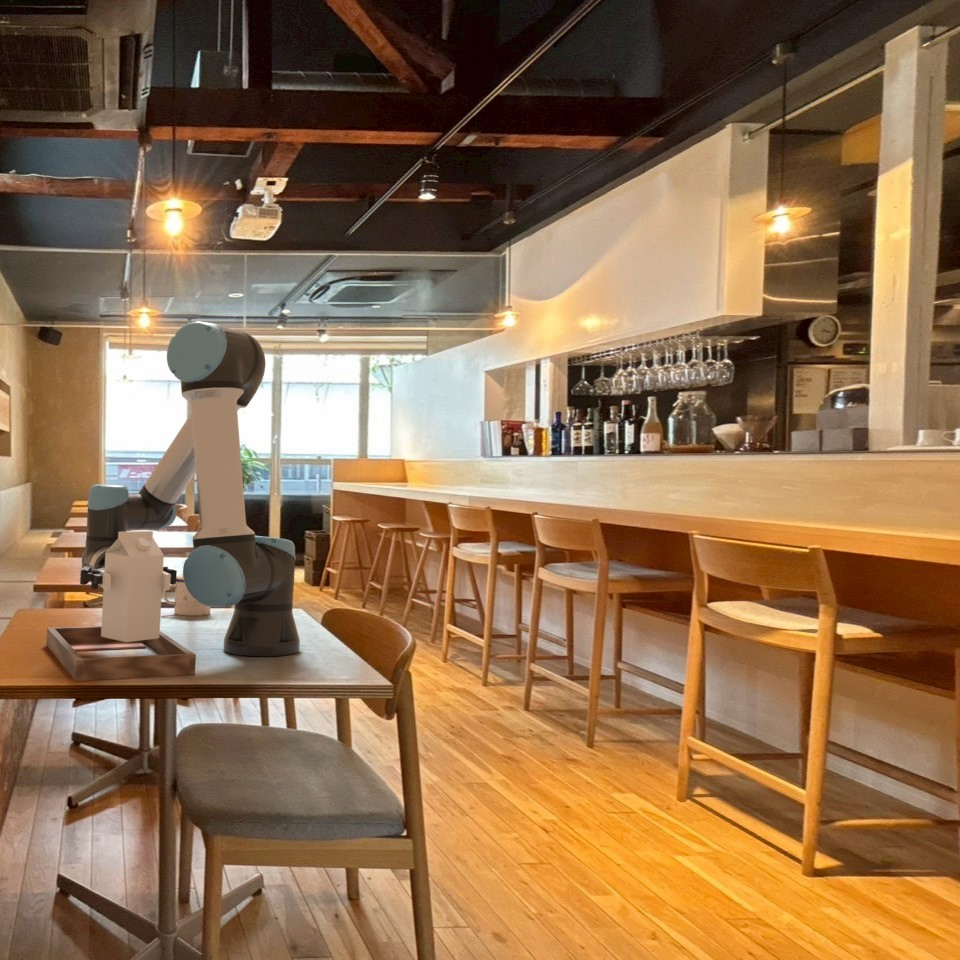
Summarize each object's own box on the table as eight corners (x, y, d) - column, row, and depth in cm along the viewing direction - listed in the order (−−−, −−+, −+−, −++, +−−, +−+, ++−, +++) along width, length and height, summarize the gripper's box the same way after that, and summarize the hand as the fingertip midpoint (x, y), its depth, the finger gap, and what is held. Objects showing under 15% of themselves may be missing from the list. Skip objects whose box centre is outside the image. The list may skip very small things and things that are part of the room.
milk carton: (100, 637, 181) (106, 530, 181) (134, 633, 187) (140, 529, 187) (125, 643, 177) (131, 533, 177) (159, 639, 183) (165, 532, 183)
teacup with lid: (205, 610, 262) (207, 564, 262) (215, 615, 254) (217, 568, 254) (157, 611, 256) (159, 565, 256) (165, 617, 248) (168, 568, 248)
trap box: (149, 641, 213) (150, 624, 213) (195, 674, 182) (195, 654, 182) (46, 645, 203) (47, 627, 203) (75, 681, 172) (76, 660, 172)
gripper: (170, 587, 203) (200, 602, 184) (51, 587, 192) (69, 604, 173) (172, 549, 203) (203, 561, 184) (53, 547, 192) (72, 560, 173)
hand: (138, 582), depth 178 cm, fingers closed on milk carton, 9 cm apart
